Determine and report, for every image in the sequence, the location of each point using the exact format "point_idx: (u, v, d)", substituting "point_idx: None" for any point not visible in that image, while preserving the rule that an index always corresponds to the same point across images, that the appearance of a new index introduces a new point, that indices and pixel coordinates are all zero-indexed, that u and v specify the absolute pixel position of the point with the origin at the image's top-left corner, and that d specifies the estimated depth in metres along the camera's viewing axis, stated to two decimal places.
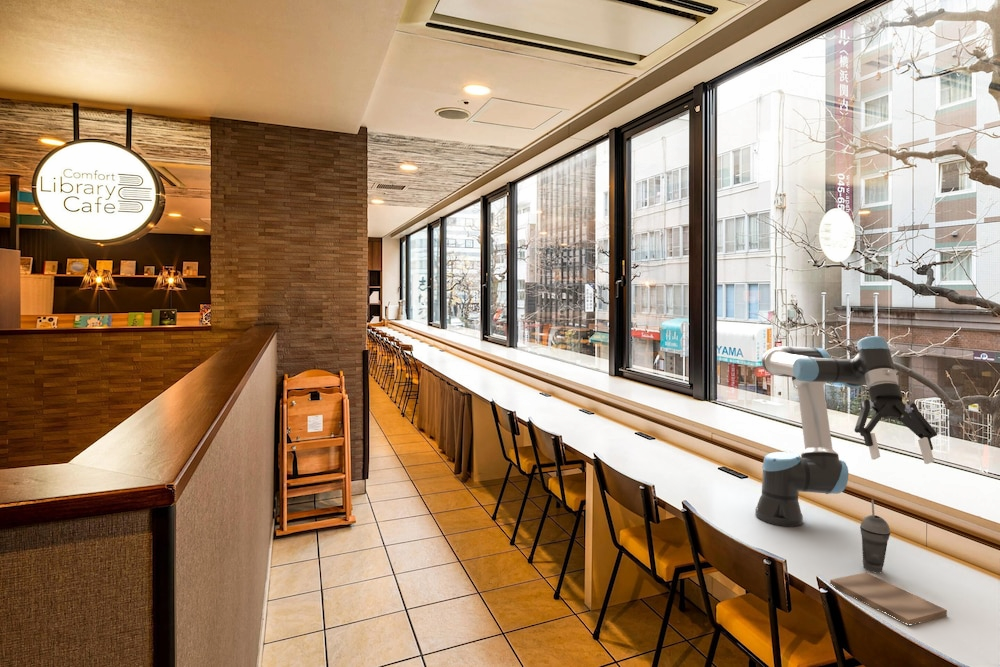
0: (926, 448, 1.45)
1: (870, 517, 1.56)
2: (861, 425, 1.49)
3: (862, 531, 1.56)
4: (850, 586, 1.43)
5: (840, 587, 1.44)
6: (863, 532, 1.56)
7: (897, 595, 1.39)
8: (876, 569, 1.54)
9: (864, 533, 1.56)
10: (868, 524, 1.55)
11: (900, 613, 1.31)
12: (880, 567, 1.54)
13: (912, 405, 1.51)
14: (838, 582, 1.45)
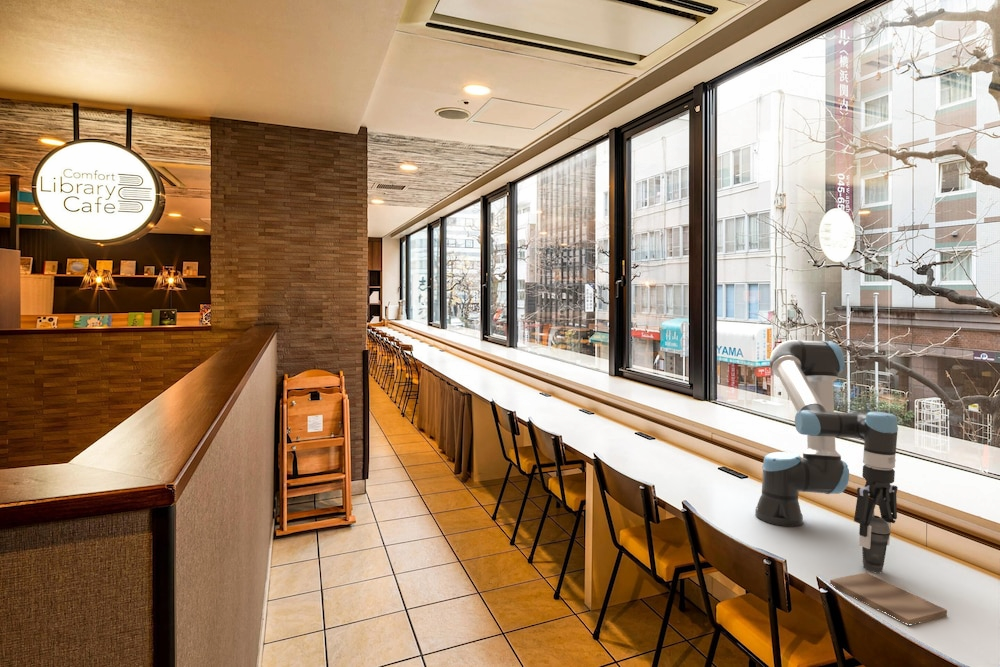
0: None
1: None
2: (863, 520, 1.52)
3: None
4: (850, 586, 1.43)
5: (840, 587, 1.44)
6: None
7: (897, 595, 1.39)
8: (876, 569, 1.54)
9: None
10: None
11: (900, 613, 1.31)
12: (880, 567, 1.54)
13: (895, 488, 1.57)
14: (838, 582, 1.45)
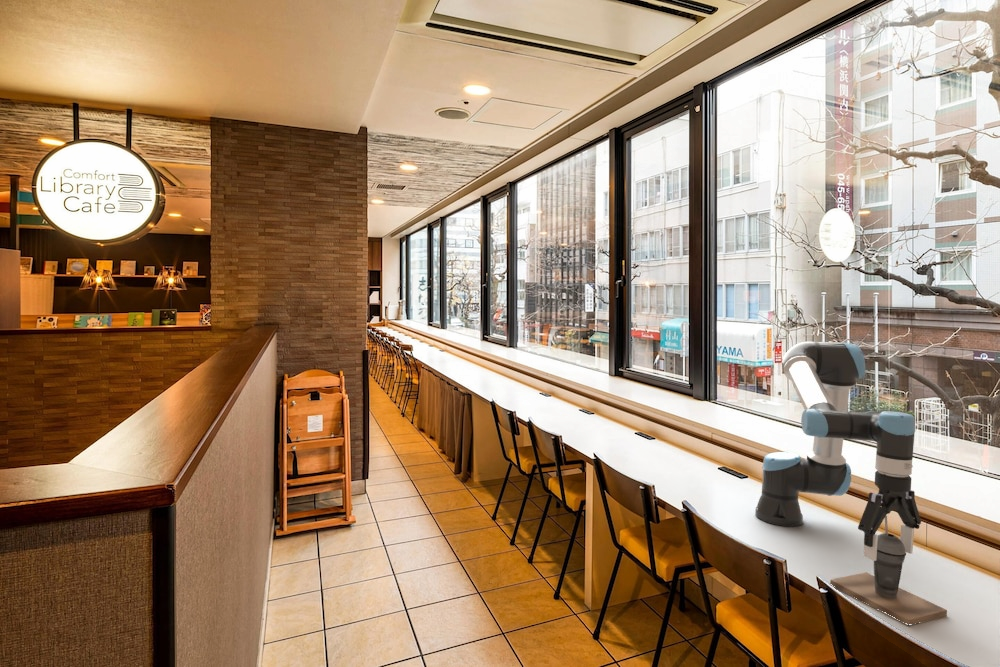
0: (909, 539, 1.40)
1: (883, 535, 1.39)
2: (869, 528, 1.34)
3: None
4: (850, 586, 1.43)
5: (840, 587, 1.44)
6: None
7: (897, 595, 1.39)
8: (890, 594, 1.37)
9: None
10: (881, 543, 1.38)
11: (900, 613, 1.31)
12: (894, 592, 1.37)
13: (911, 493, 1.39)
14: (838, 582, 1.45)
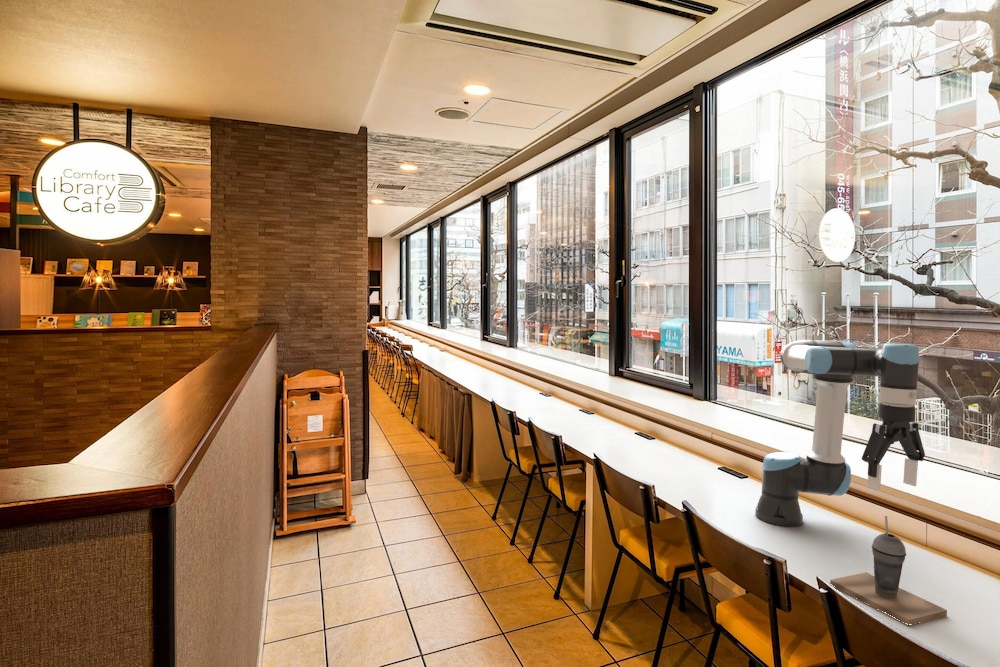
0: (913, 472, 1.40)
1: (883, 536, 1.39)
2: (873, 457, 1.34)
3: (874, 551, 1.39)
4: (850, 586, 1.43)
5: (840, 587, 1.44)
6: (875, 552, 1.39)
7: (897, 595, 1.39)
8: (890, 594, 1.37)
9: (876, 554, 1.38)
10: (882, 543, 1.38)
11: (900, 613, 1.31)
12: (894, 592, 1.37)
13: (915, 425, 1.39)
14: (838, 582, 1.45)
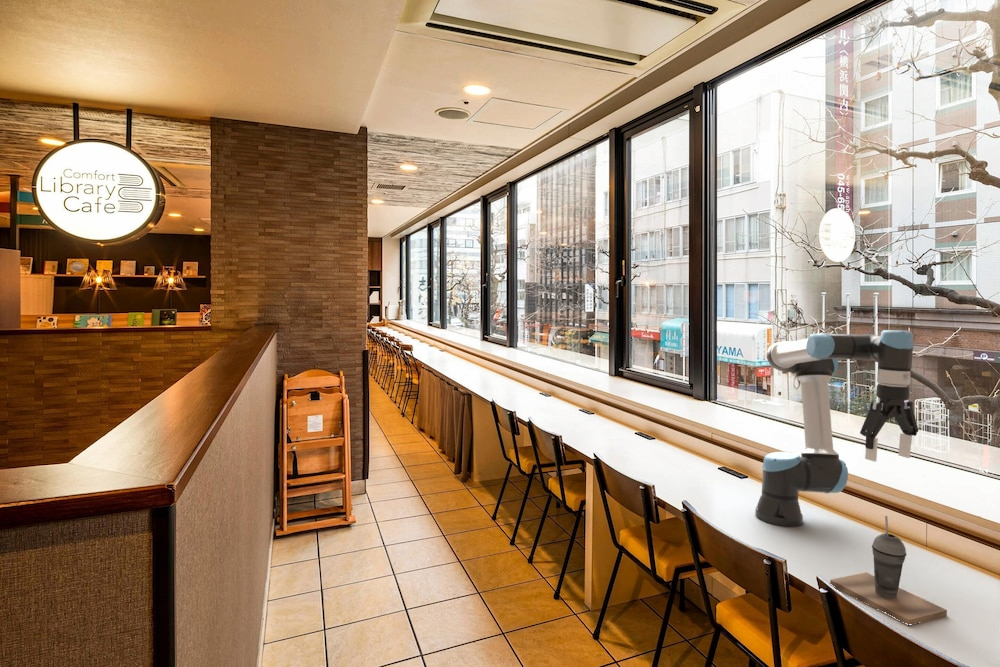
0: (907, 445, 1.56)
1: (883, 536, 1.39)
2: (870, 431, 1.50)
3: (874, 551, 1.39)
4: (850, 586, 1.43)
5: (840, 587, 1.44)
6: (875, 553, 1.39)
7: (897, 595, 1.39)
8: (890, 594, 1.37)
9: (876, 554, 1.38)
10: (882, 544, 1.38)
11: (900, 613, 1.31)
12: (894, 592, 1.37)
13: (910, 404, 1.55)
14: (838, 582, 1.45)
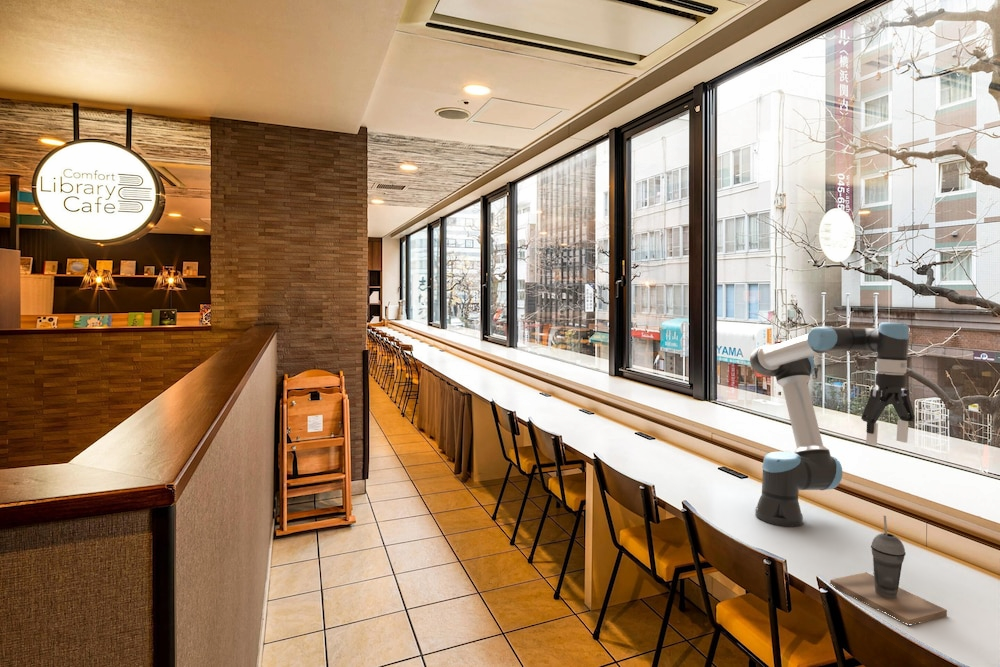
0: (904, 430, 1.66)
1: (882, 535, 1.39)
2: (871, 417, 1.60)
3: (873, 551, 1.39)
4: (850, 586, 1.43)
5: (840, 587, 1.44)
6: (875, 552, 1.39)
7: (897, 595, 1.39)
8: (890, 594, 1.37)
9: (876, 553, 1.39)
10: (881, 543, 1.38)
11: (900, 613, 1.31)
12: (894, 592, 1.37)
13: (906, 391, 1.65)
14: (838, 582, 1.45)
